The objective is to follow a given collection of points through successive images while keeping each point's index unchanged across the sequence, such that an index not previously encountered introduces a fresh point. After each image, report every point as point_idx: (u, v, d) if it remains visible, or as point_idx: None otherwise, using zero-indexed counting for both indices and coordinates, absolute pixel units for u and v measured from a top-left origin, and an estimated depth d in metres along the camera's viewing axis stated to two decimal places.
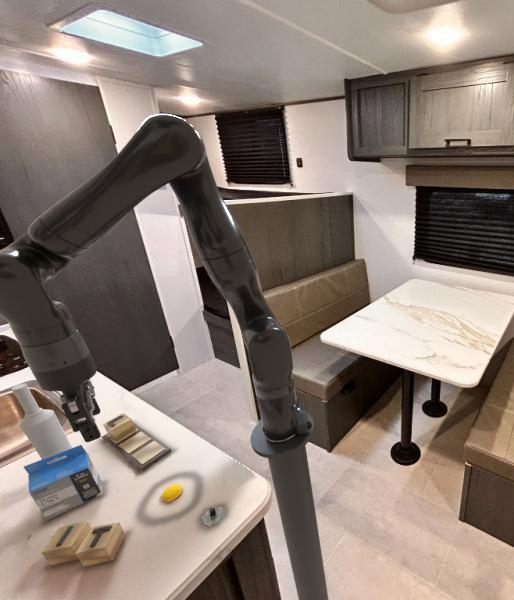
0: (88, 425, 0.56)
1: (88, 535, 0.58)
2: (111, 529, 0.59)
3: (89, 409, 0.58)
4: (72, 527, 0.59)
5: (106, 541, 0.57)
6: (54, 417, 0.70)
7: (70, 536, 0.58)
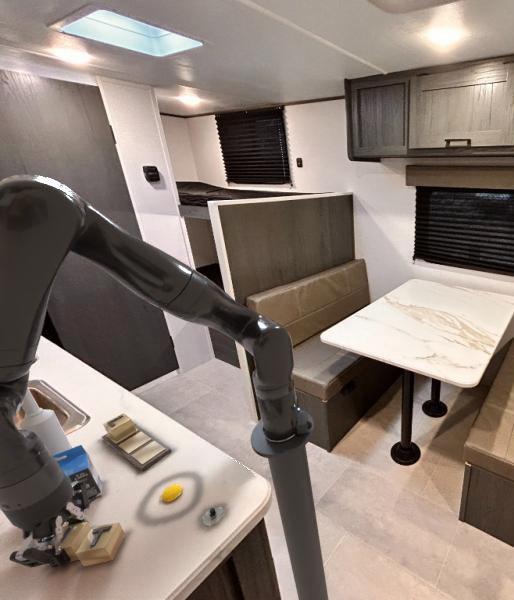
0: (43, 564, 0.53)
1: (88, 535, 0.58)
2: (111, 529, 0.59)
3: (54, 543, 0.55)
4: (72, 527, 0.59)
5: (106, 541, 0.57)
6: (54, 417, 0.70)
7: (70, 536, 0.58)
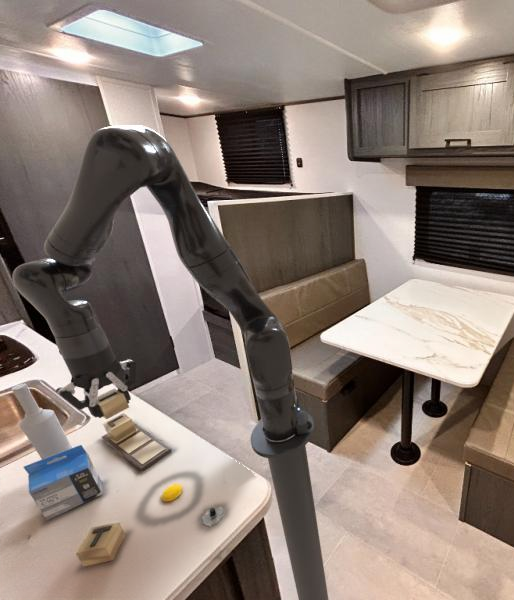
0: (76, 407, 0.68)
1: (88, 535, 0.58)
2: (111, 529, 0.59)
3: (89, 396, 0.69)
4: (115, 393, 0.74)
5: (106, 541, 0.57)
6: (54, 417, 0.70)
7: (108, 399, 0.72)
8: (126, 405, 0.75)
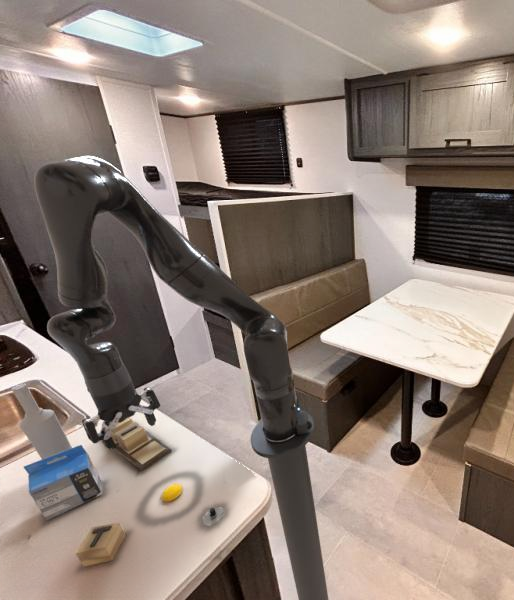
0: (92, 441, 0.73)
1: (88, 535, 0.58)
2: (111, 529, 0.59)
3: (107, 429, 0.74)
4: (136, 427, 0.81)
5: (106, 541, 0.57)
6: (54, 417, 0.70)
7: (129, 433, 0.79)
8: (145, 438, 0.82)
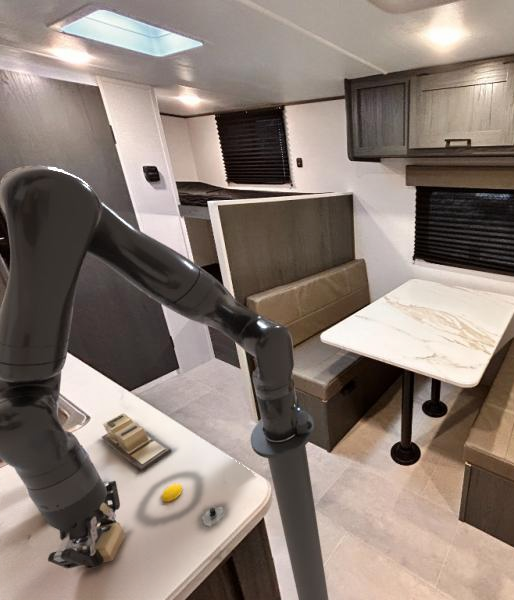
0: (79, 564, 0.53)
1: None
2: (111, 529, 0.59)
3: (89, 544, 0.55)
4: (136, 427, 0.81)
5: (106, 541, 0.57)
6: None
7: (129, 433, 0.79)
8: (145, 438, 0.82)
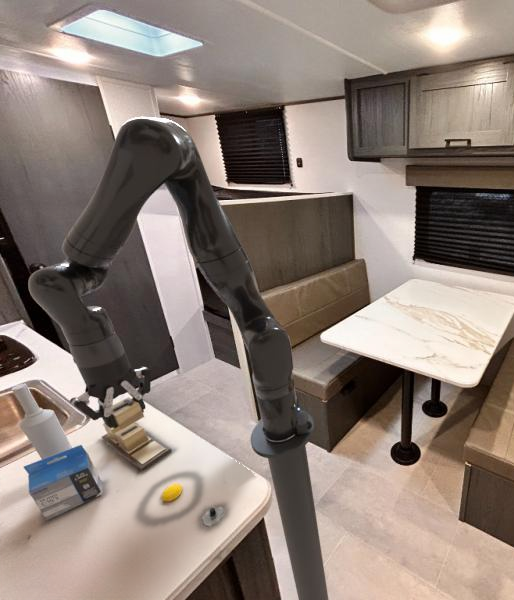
0: (91, 418, 0.65)
1: (121, 401, 0.72)
2: (131, 405, 0.70)
3: (104, 406, 0.66)
4: (136, 427, 0.81)
5: (120, 412, 0.69)
6: (54, 417, 0.70)
7: (129, 433, 0.79)
8: (145, 438, 0.82)
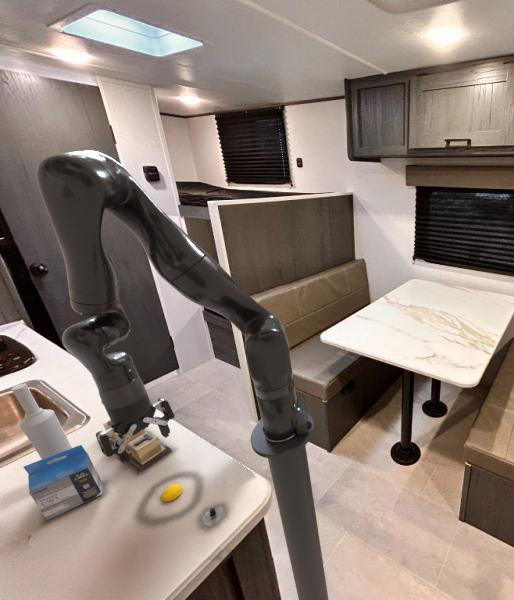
0: (106, 455, 0.70)
1: (141, 435, 0.78)
2: (150, 440, 0.77)
3: (121, 442, 0.72)
4: None
5: (141, 447, 0.75)
6: (54, 417, 0.70)
7: None
8: None
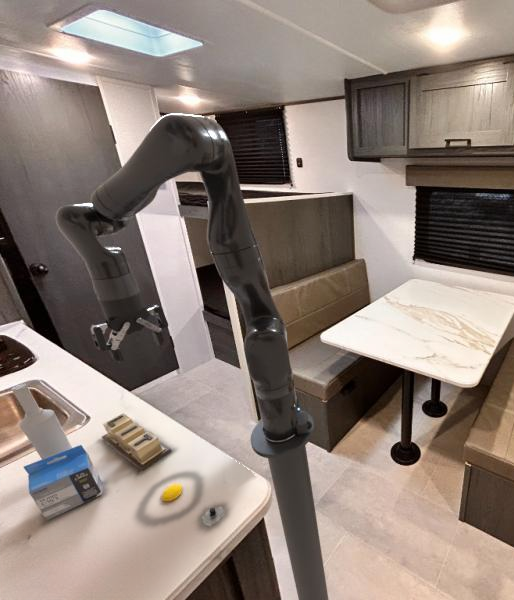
0: (99, 349, 0.71)
1: (141, 435, 0.78)
2: (150, 440, 0.77)
3: (115, 339, 0.73)
4: (136, 427, 0.81)
5: (141, 447, 0.75)
6: (54, 417, 0.70)
7: (129, 433, 0.79)
8: None
